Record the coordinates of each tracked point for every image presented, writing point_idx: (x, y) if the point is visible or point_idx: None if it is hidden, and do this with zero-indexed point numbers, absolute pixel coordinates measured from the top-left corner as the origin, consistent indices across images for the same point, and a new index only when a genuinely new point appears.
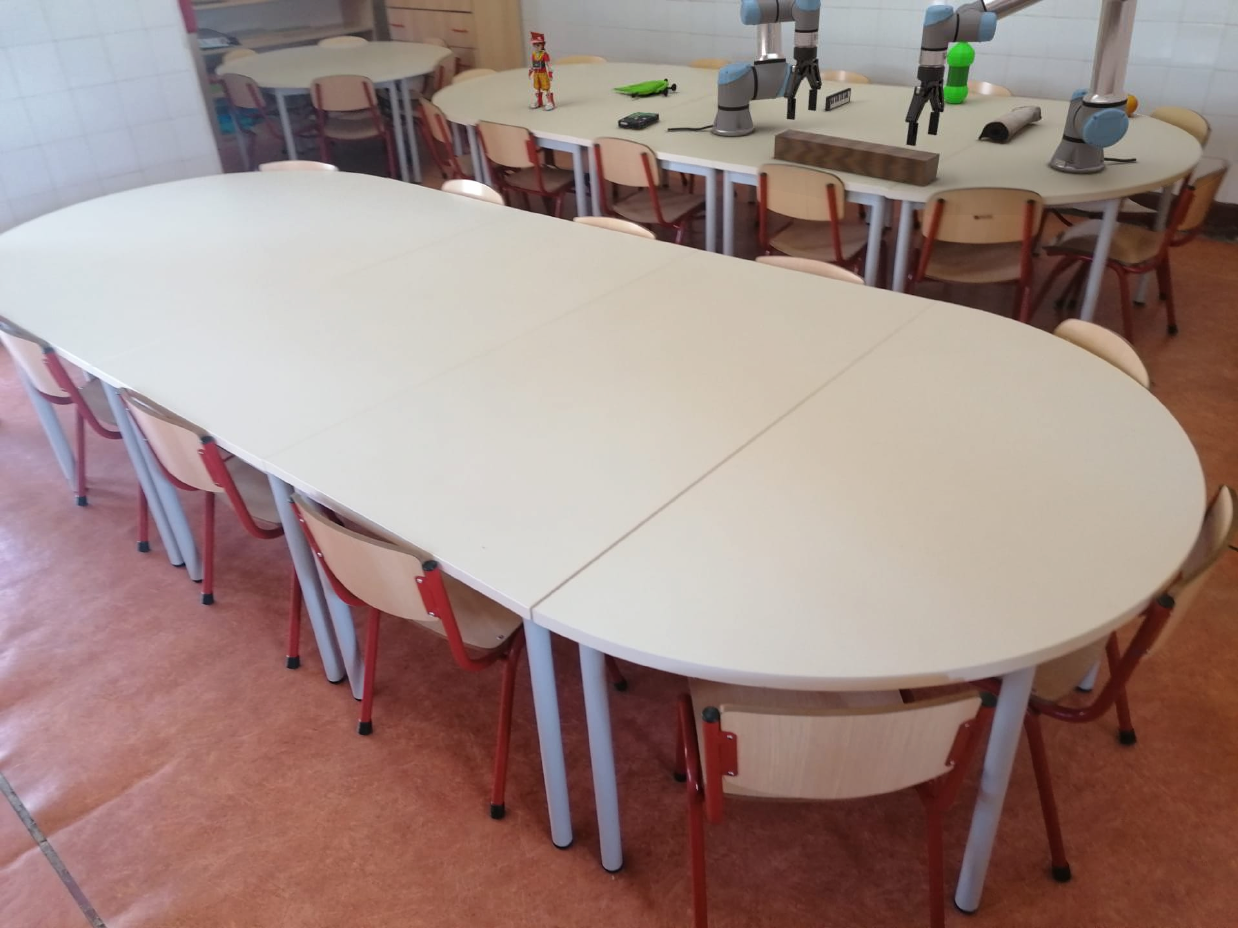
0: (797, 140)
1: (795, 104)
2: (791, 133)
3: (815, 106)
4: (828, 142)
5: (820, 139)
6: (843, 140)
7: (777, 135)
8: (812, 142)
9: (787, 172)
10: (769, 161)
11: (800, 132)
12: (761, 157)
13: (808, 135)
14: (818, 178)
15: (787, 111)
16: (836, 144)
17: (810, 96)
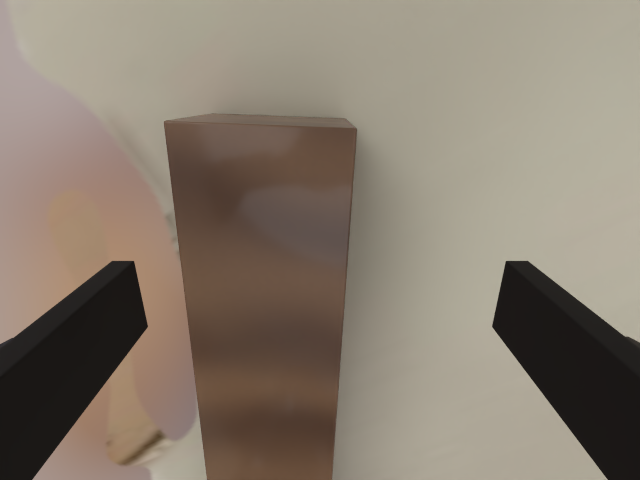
0: (186, 290)
1: (53, 441)
2: (267, 200)
3: (516, 352)
4: (229, 436)
5: (252, 389)
6: (296, 468)
7: (168, 141)
8: (195, 373)
9: None
10: (158, 122)
11: (319, 237)
12: (186, 38)
13: (285, 308)
14: (117, 392)
15: (67, 302)
16: (221, 471)
17: (596, 364)
